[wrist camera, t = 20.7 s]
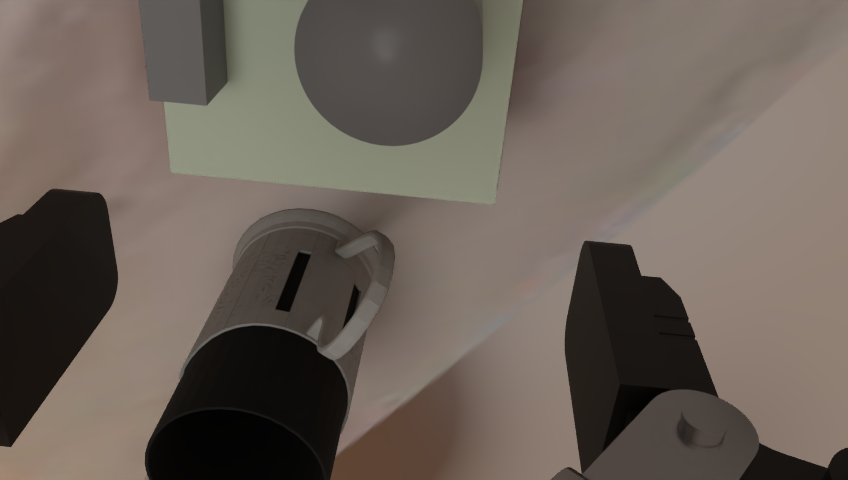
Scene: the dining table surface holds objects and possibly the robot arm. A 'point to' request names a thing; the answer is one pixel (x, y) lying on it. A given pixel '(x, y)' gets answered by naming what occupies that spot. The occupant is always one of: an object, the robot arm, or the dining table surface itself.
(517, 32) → the lid
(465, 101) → the grey rounded cylinder
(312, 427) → the glass holder
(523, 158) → the dining table surface
